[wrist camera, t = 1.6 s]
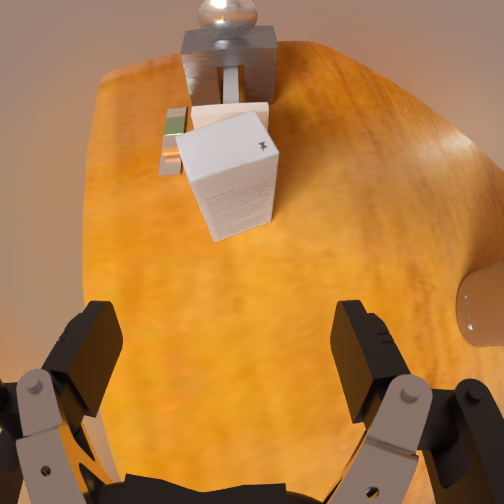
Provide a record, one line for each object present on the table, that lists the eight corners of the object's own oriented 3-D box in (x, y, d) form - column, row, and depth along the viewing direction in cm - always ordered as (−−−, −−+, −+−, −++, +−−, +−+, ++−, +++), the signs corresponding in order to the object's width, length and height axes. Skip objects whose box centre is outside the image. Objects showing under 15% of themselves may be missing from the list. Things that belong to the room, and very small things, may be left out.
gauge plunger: (259, 83, 34) (260, 45, 28) (266, 151, 31) (269, 111, 25) (172, 90, 34) (162, 53, 28) (162, 158, 31) (146, 121, 25)
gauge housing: (270, 78, 35) (275, -16, 21) (281, 169, 31) (298, 59, 17) (172, 85, 35) (148, -5, 21) (159, 177, 31) (108, 77, 17)
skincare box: (255, 187, 31) (257, 107, 19) (271, 222, 30) (283, 153, 18) (199, 206, 30) (172, 134, 19) (213, 244, 29) (189, 184, 18)
